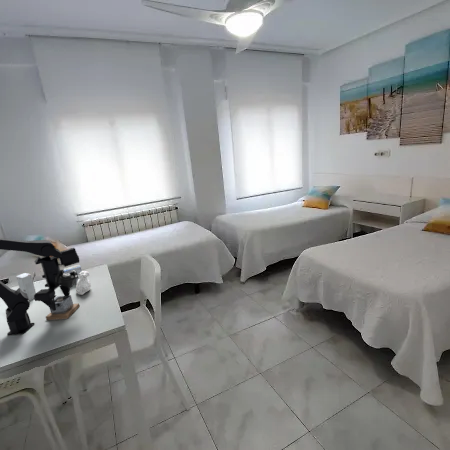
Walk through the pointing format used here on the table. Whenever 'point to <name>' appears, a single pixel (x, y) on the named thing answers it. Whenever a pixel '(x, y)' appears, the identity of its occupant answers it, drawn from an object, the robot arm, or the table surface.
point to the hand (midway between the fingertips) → (61, 304)
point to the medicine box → (73, 268)
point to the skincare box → (26, 284)
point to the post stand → (62, 316)
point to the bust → (83, 283)
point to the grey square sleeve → (62, 305)
